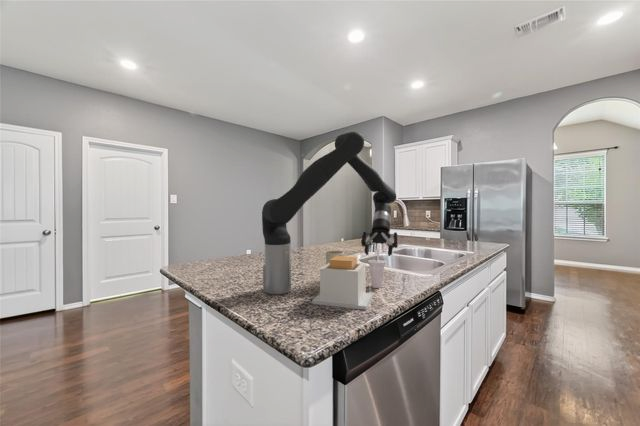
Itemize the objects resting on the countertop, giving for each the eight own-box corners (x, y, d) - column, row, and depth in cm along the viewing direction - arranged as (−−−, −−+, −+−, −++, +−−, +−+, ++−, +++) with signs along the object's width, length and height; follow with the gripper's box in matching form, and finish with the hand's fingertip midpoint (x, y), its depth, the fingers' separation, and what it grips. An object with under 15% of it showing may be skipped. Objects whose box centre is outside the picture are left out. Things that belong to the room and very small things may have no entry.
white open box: (312, 303, 86) (311, 268, 85) (325, 291, 98) (325, 260, 98) (366, 309, 80) (366, 272, 80) (373, 296, 92) (373, 263, 92)
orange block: (329, 283, 87) (329, 259, 86) (336, 277, 93) (335, 255, 93) (352, 285, 84) (351, 261, 84) (357, 279, 91) (356, 256, 91)
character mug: (349, 289, 100) (348, 254, 99) (330, 291, 98) (329, 255, 98) (340, 281, 110) (339, 249, 110) (323, 283, 109) (322, 250, 108)
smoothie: (387, 289, 100) (387, 250, 99) (369, 289, 100) (369, 250, 100) (383, 284, 106) (383, 248, 106) (366, 284, 106) (366, 248, 106)
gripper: (363, 217, 117) (358, 248, 107) (398, 217, 112) (396, 249, 102) (366, 228, 122) (361, 259, 112) (399, 229, 118) (397, 261, 107)
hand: (377, 254), depth 107 cm, fingers open, 8 cm apart
